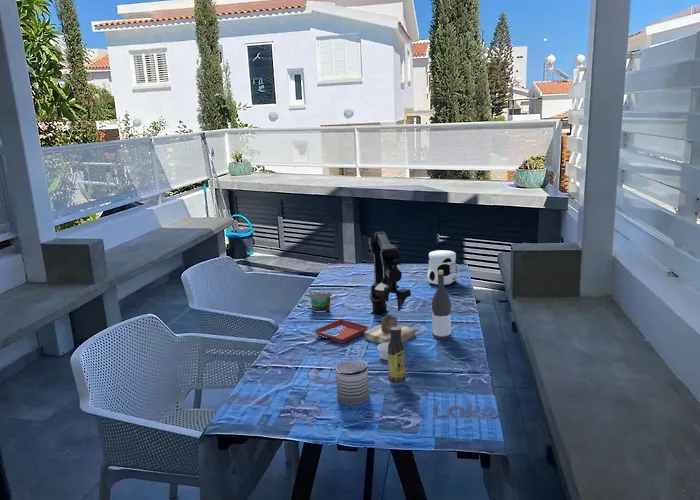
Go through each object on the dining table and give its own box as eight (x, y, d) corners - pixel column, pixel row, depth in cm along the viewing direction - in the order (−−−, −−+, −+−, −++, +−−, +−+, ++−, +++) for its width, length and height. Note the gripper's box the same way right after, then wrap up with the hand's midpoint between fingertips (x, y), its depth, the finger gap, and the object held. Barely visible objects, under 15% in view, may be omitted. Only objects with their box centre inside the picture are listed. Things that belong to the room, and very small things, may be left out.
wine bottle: (450, 339, 237) (450, 273, 231) (431, 339, 239) (430, 273, 232) (451, 332, 245) (450, 268, 238) (432, 332, 247) (431, 268, 240)
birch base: (364, 338, 244) (364, 332, 243) (387, 327, 255) (386, 321, 254) (393, 347, 233) (392, 340, 232) (415, 335, 244) (415, 329, 244)
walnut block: (381, 331, 243) (381, 318, 242) (388, 327, 247) (388, 315, 246) (390, 333, 240) (390, 320, 239) (397, 330, 244) (397, 317, 242)
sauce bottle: (400, 384, 200) (398, 333, 196) (385, 380, 204) (383, 330, 199) (408, 376, 206) (406, 326, 201) (393, 373, 209) (391, 324, 205)
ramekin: (387, 350, 231) (387, 340, 230) (404, 355, 225) (403, 345, 224) (373, 357, 225) (372, 347, 224) (389, 362, 219) (389, 352, 218)
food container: (305, 312, 282) (304, 293, 279) (310, 308, 287) (309, 290, 285) (327, 314, 277) (326, 295, 275) (332, 310, 283) (331, 291, 280)
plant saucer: (313, 337, 250) (313, 330, 249) (341, 325, 263) (340, 318, 262) (342, 346, 238) (342, 339, 237) (369, 333, 251) (369, 326, 250)
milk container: (427, 279, 328) (426, 250, 324) (457, 279, 325) (456, 249, 321) (427, 288, 311) (426, 257, 307) (458, 287, 309) (458, 256, 305)
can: (344, 407, 186) (342, 375, 183) (332, 393, 196) (330, 362, 193) (374, 399, 190) (373, 367, 188) (361, 386, 200) (359, 355, 198)
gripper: (362, 276, 243) (363, 309, 247) (395, 283, 231) (396, 318, 235) (378, 270, 251) (379, 302, 255) (411, 277, 239) (412, 310, 242)
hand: (391, 308), depth 246 cm, fingers open, 9 cm apart
